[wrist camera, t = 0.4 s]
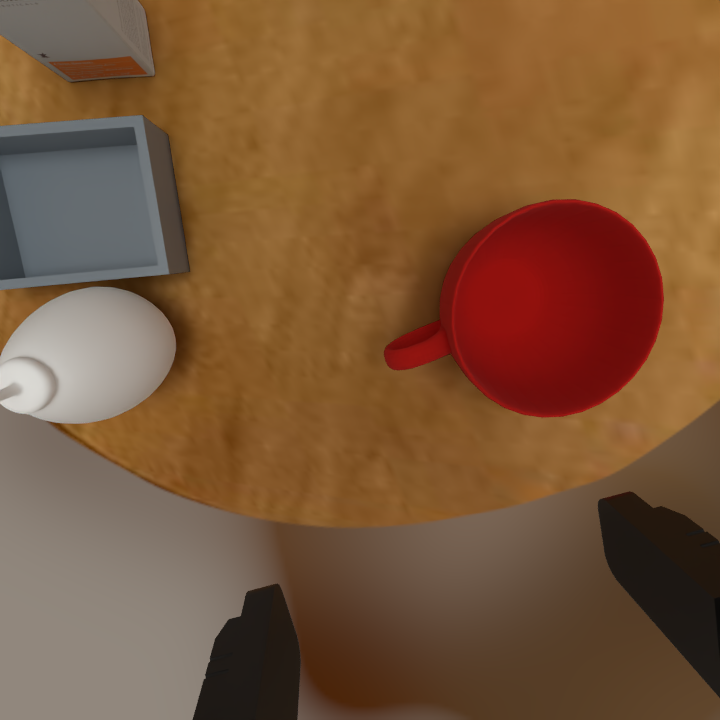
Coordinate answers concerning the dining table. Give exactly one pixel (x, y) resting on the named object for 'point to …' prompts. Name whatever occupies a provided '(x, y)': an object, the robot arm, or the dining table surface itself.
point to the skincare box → (81, 36)
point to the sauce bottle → (86, 356)
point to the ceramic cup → (545, 309)
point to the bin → (87, 203)
